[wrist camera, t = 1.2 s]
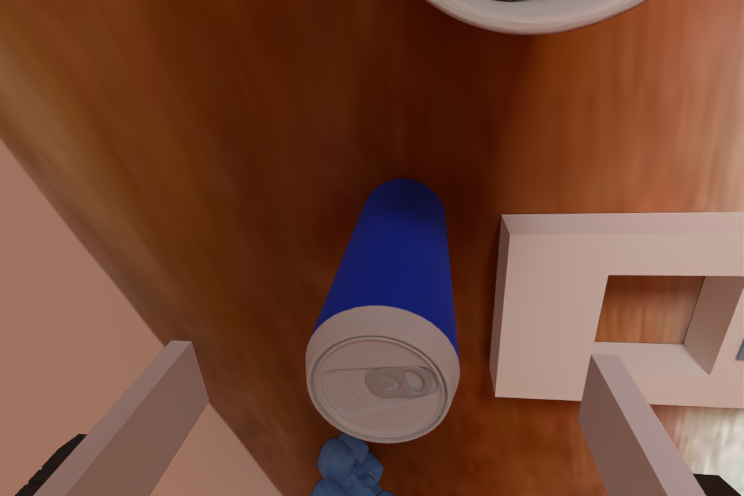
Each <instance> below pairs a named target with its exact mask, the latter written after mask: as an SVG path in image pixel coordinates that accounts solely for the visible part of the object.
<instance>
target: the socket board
mask: <svg viewBox="0 0 744 496" xmlns="http://www.w3.org/2000/svg"><path fill="white" fill-rule="evenodd" d="M608 275H672V276H705V279H704V282H703V285H702V288H701V291H700V294H699V297H698V300H697V303H696V306H695V309H694V312H693V315H692V318H691V321H690V324H689V327H688V330H687V334H686V337H685V340H684V343H683V344H650V343H615V342H594V340H595V335H596V330H597V326H598V321H599V316H600V312H601V307H602V302H603V298H604V293H605V288H606V284H607V279H608ZM591 354H610V355H618V356H619V357H620V359H621V360H622V362H623V364H624V365H625V367H626V368H627V370H628V372H629V373H630V375H631V376H632V378H633V380H634V381H635V383H636V384H637V386H638V388H639V389H640V391H641V392H642V394H643V396H644V397H645V399H646V400H647V402H648V404H658V405H679V406H700V407H721V408H742V409H744V212H693V213H602V214H511V215H501V227H500V239H499V252H498V264H497V277H496V289H495V301H494V314H493V326H492V338H491V351H490V363H489V367H490V373H491V378H492V383H493V389H494V394H495V397H509V398H530V399H552V400H573V401H582V396H583V391H584V386H585V381H586V376H587V372H588V367H589V362H590V357H591Z"/></svg>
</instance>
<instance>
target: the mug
mask: <svg viewBox="0 0 744 496" xmlns="http://www.w3.org/2000/svg"><path fill="white" fill-rule="evenodd" d="M425 1H426V2H428V3H429V4H431V5H432V6H434V7H435V8H437V9H438V10H440V11H441V12H443V13H445V14H447V15H449V16H451V17H453V18H455V19H457V20H459V21H461V22H464V23H466V24H469V25H472V26H475V27H478V28H481V29H485V30H489V31H494V32H499V33H505V34H512V35H545V34H559V33H564V32H568V31H573V30H577V29H581V28H584V27H588V26H591V25H594V24H597V23H600V22H602V21H605V20H607V19H610V18H612V17H615V16H617V15H620V14H622V13H624V12H626V11H628V10H631V9H633V8H635V7H636V6H638V5H640V4H642V3H643V2H645V1H647V0H425Z"/></svg>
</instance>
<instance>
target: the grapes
mask: <svg viewBox="0 0 744 496" xmlns="http://www.w3.org/2000/svg"><path fill="white" fill-rule="evenodd" d="M368 449H369V447H368V446H367V444H366V443H365V441H364V440H362V439H358V438H355V437H353V436H351V435H348V434H346V433H344V432H343V433H341V434H340V436H339V437H338V439H337V438H332V439H331V440H329V441H327V442H326V443H325V444H324V446H323V447H322V449H321V451H320V454H319V457H318V461H317V465H316V466H317V468H318V470H319V472H320V474H321V475H322V477H323V479H322V480H320V481H319V482H317V484H316V486H315V487H314V489H313V491H312V493H311V496H395V495H394V494H393V493H392V492H388V491H383V490H382V488H381V487H380V486H379V485H378V484H379V482H380V479H381V475H382V472H383V469H384V468H383V466H382V465H381V463H380V462H379V461H378V459H377V458H376V456H374V455H373V454H372V453H371V452H370V451H368Z"/></svg>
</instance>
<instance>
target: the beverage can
mask: <svg viewBox="0 0 744 496" xmlns="http://www.w3.org/2000/svg"><path fill="white" fill-rule="evenodd" d="M459 378H460V364H459V354H458V343H457V333H456V322H455V312H454V301H453V291H452V281H451V270H450V260H449V249H448V239H447V228H446V218H445V211H444V207H443V204H442V202H441V200H440V199H439V197H438V196H437V195H436V193H435V192H434V191H433V190H432V189H430V188H429V187H428V186H426V185H424V184H422V183H420V182H418V181H414V180H409V179H397V180H392V181H389V182H386V183H384V184H382V185H380V186H379V187H377V188H376V189H375V190H374V191H373V192H372V193H371V194H370V195H369V197H368V198H367V200H366V202H365V204H364V207H363V209H362V212H361V214H360V217H359V219H358V222H357V224H356V227H355V229H354V231H353V234H352V236H351V239H350V241H349V244H348V246H347V249H346V251H345V254H344V256H343V259H342V261H341V264H340V266H339V269H338V271H337V274H336V276H335V279H334V281H333V284H332V286H331V288H330V291H329V293H328V296H327V298H326V301H325V303H324V306H323V308H322V311H321V313H320V316H319V318H318V321H317V323H316V326H315V328H314V331H313V333H312V336H311V338H310V341H309V343H308V346H307V350H306V380H307V388H308V393H309V395H310V398H311V400H312V402H313V404H314V406H315V407H316V409H317V410H318V412H319V413H320V414H321V415H322V416H323V417H324V418H325V419H326V420H327V421H328V422H329V423H330V424H331V425H333V426H334V427H336V428H337V429H339V430H340V431H342V432H344V433H346V434H348V435H351V436H353V437H355V438H358V439H362V440H365V441H370V442H376V443H400V442H406V441H410V440H413V439H416V438H419V437H421V436H423V435H425V434H427V433H429V432H430V431H432V430H433V429H434V428H436V427H437V426H438V425H439V424H440V423H441V421H442V420H443V419H444V417H445V416H446V414H447V412H448V410H449V408H450V406H451V403H452V400H453V397H454V394H455V392H456V389H457V386H458V382H459Z"/></svg>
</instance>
